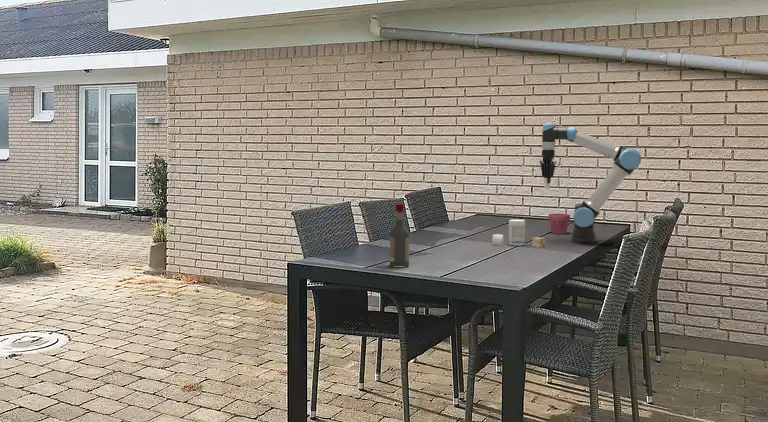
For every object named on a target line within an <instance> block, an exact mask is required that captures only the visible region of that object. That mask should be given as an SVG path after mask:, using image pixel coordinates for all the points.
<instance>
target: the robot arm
mask: <svg viewBox="0 0 768 422" xmlns="http://www.w3.org/2000/svg"><path fill="white" fill-rule="evenodd" d="M541 130H542V131H541V133H542V134H541V135H542V136H541V137H542V140H541V143H542V144H541V149H542V150H541V156H542V159H541V160H540V161H539V164H540V171H541V177H542V178H544V181H543V182H544V189H545V190H550V189H551V180H552V179H551V178H553V177H554V175H555V169H556V165H557V161H556V160H555V159H554V157H555V155H556V150H555V149H556V140H562V141H564V140H565V141H568V142H570V143H573V144H576V145H578V146H581V147H583V148H585V149H588V150H590V151H592V152H593V151H594V152H595V153H598V154H600V155H603V156H606V157H608V158H611V159H612V161H613V163H612V164H613V168H612V169H611V170H610V171H609V173H607V175H606V176H605V177H604V179H603V180H602V181H601V183H600V184H599V185H598V187H596V188H595V190H594V191H593V193H592V194H591V195H590V197H589V198H588V199H587V200H583V201H582V202H581V203H575V205H574V213H573V214H572V215H573V216H572V217H573V225H574V226H573V231H572V234H571V236H570V241H571V242H574V241H575V243H596V242H597V236H596V232H595V228H594V227H595V220H596V218H597V217H598V216H599V215H600V213H601V208H602V207H603V206H604V204H605V203H606V202H607V201H608V199H609V198H610V197H611V195H612V194H613V193H614V191H616V189H617V188H618V187H619V185H620V184H621V183H622V182H623V180H624V179H625V178H626V177H627V176H631V175H632V173H633V172H634V171H635V170H636V169H637V168H638V167H639V166H640V164H641V163H642V155H641V154H640V153H641V152H639V151H638V150H637V149H635V148H631V147H625V146H621V145H618V146H616V145H614V144H612V143H610V142H606V141H604V140H601V139H598V138H596V137H594V136H591V135H589V134H586V133H584V132H581V131H579V130H577V128H576V127H575V126H556V123H543V125H542V129H541ZM595 241H596V242H595Z"/></svg>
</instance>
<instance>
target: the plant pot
mask: <svg viewBox="0 0 768 422" xmlns="http://www.w3.org/2000/svg"><path fill="white" fill-rule="evenodd" d="M547 215H548V217H547V220H548V221H549V224H550V225H549V226H550V230H551V234H553V235H566V234H567V230H568V227H569V221H571V214H568V213H548V214H547Z"/></svg>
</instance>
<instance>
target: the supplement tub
mask: <svg viewBox="0 0 768 422" xmlns="http://www.w3.org/2000/svg"><path fill="white" fill-rule="evenodd" d="M508 245H509V246H513V247H514V246H515V247H521V246H525V245H526V220H525V219H509V221H508Z"/></svg>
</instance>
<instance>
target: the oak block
mask: <svg viewBox="0 0 768 422" xmlns="http://www.w3.org/2000/svg"><path fill="white" fill-rule="evenodd" d="M545 241H546V238H545V237H538V236H537V237H532V244H531V245H532V247H534V248H543V247H544V248H545V245H546V242H545Z"/></svg>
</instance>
